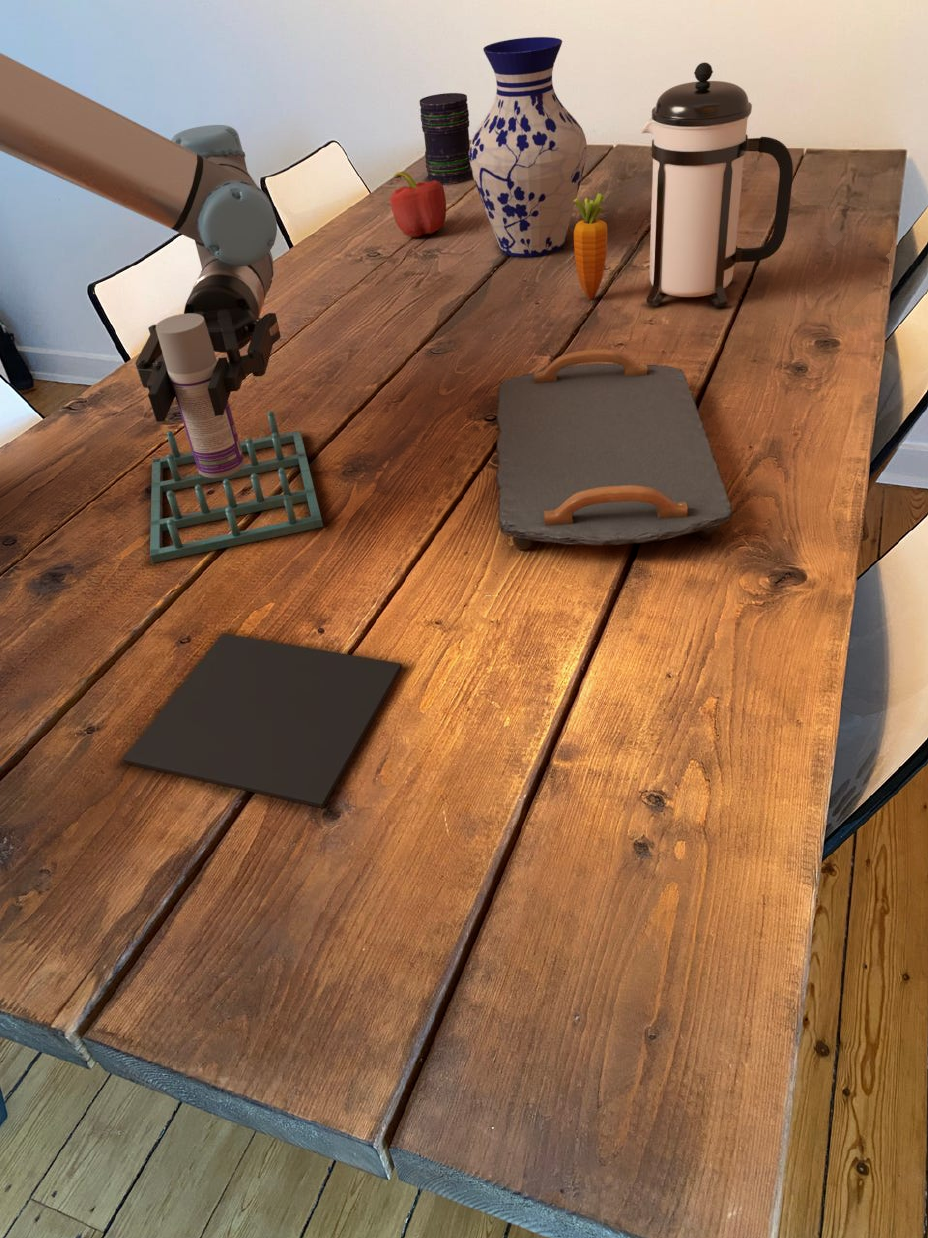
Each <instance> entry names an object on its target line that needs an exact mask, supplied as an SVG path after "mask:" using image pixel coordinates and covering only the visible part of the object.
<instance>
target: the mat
mask: <svg viewBox="0 0 928 1238" xmlns="http://www.w3.org/2000/svg"><path fill="white" fill-rule="evenodd" d="M402 669H403V664H402V663H400V662H394V661H390V660H383V659H378V658H371V657H365V656H359V655H354V654H348V653H342V652H336V651H331V650H324V649H319V648H318V649H317V648H312V647H305V646H300V645H294V644H288V643H283V642H276V641H270V640H266V639H259V638H253V637H249V636H248V637H247V636H241V635H235V634H231V633H230V634H229V633H223V632H222V634H221V635H220V636H219V637H218V638H217V640H216V641H215V642H214V643H213V645H212V646H211V647H210V648H209V650H208V651H207V653H205V655H204V656H203V658H201V659H200V661H199V662H198V664H197V665H196V666H195V667H194V669H193V670H192V671H191V673H190V674H189V675H188V677H187V678H186V679H185V680H184V682H183V683H181V685H180V687H178V689H177V690H176V692H174V694H173V695H172V697H171V698H170V699H169V700H168V701H167V703H166V704H165V705H164V707H163V708H162V709H161V710H160V711H159V713H158V714H157V715H156V717H155V718H154V719H153V720H152V722H151V723H150V724H149V725H148V726H147V727H146V729H145V730H144V732H143V733H142V734H141V736H139V738H138V739H137V741H136V742H135V743H134V744H133V745H132V746H131V748H130V749H129V750H128V751H127V753H126V754H125V755H124V757H123V758H122V761H123V763H124V764H127V765H130V766H135V767H140V768H143V769H148V770H153V771H156V772H157V771H158V772H161V773H166V774H170V775H174V776H179V777H184V778H187V779H192V780H197V781H201V782H205V783H209V784H215V785H217V786H218V785H219V786H223V787H226V788H227V787H228V788H232V789H236V790H241V791H245V792H249V793H254V794H258V795H262V796H266V797H267V796H268V797H271V798H277V799H281V800H285V801H289V802H294V803H297V804H298V803H299V804H303V805H307V806H312V807H316V808H319V809H320V808H321V809H324V808H325V806H326V804H327V802H328V801H329V799H330V797H331V795H332V794H333V792H334V790H335V788H336V787H337V785H338V783H339V781H340V779H341V778H342V776H343V773H344V772H345V770H346V769H347V767H348V765H349V763H350V761H351V760H352V758H353V756H354V755H355V752H356V751H357V749H358V747H359V745H360V744H361V742H362V740H363V738H364V736H365V734H366V733H367V731H368V730H369V728H370V726H371V724H372V722H373V720H374V719H375V717H376V715H377V713H378V712H379V710H380V708H381V706H382V705H383V703H384V701H385V699H386V697H387V696H388V694H389V692H390V690H391V688H392V687H393V685H394V683H395V681H396V680H397V678H398V676H399V674H400V673H401V670H402Z"/></svg>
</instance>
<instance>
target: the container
mask: <svg viewBox="0 0 928 1238" xmlns="http://www.w3.org/2000/svg"><path fill="white" fill-rule="evenodd" d="M155 325H156V331H157V335H158V339H159V342H160V346H161V349H162V353H163V356H164V360H165V364H166V367H167V371H168V374H169V378H170V381H171V385H172V388H173V391H174V394H175V400H176V404H177V407H178V410H179V413H180V417H181V420H182V423H183V426H184V429H185V432H186V436H187V439H188V442H189V445H190V449H191V452H193V455H194V459H195V462H194V463H195V465H196V468H197V471H198V474H201V475H202V476H204V477H208V478H220V477H225V476H228V475H231V474H233V473H235V472H237V471H238V470H240V469H241V468H242V467H243V465H245V458H244V454H243V453H242V450H241V447H240V443H239V442H240V440H239V439H240V438H239V437H238V436H239V435H238V432H237V429H236V425H235V422H234V421H235V420H234V417H233V414H232V410H231V406H230V403H229V401H228V402H227V405H226V408H225V411H224V414H223V415H218V416H215V413H214V410H213V406H212V403H211V399H210V396H209V392H208V389H207V388H208V386H209V383H210V380H211V378H212V375H213V372H214V370H215V367H216V364H217V361H218V359H217V356H216V352H215V351H214V349H213V346H212V343H211V339H210V336H209V333H208V329H207V326H206V323H205V319H204V317H203V316H201V315H199V314H192V313H188V314H184V313H180V314H174V315H171V316H168V317H166V318H164V319H162V320H160V321H158V323H156V324H155Z"/></svg>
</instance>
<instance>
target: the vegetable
mask: <svg viewBox="0 0 928 1238" xmlns="http://www.w3.org/2000/svg"><path fill="white" fill-rule="evenodd" d="M393 177H394V178H395V179H402V178H403V179H405V181H406V182H407V183H408V185H409V186H402V187H400V188H398V189H396V190H394V191H393V192H392V193H391V196H390V207H391V212H392V214H393V218H394V220H395V224H396V225H397V227H398V228H399V229H400V230H401V231H402V233H403V234H404V235H406V236H408V237H411V238H418V237H421V236H422V235H423V236H424V235H427V234H428V235H429V234H430V235H431V234H434V233H435V232H436V231H439V230H440V229H441V228H442V227H443V226H444V224H445V221H446V216H447V199H446V192H445V189H444V186H443V184H441V183H440V182H438V181H435V180H434V181H430V182H429V181H428V182H424V181H420V182H417V183H416V182H415V181H414V179H413V178H412V176H410V175H409V174H408V173H407V172H404V171H399V172H397V173H395V174H394V175H393Z"/></svg>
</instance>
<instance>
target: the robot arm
mask: <svg viewBox="0 0 928 1238" xmlns="http://www.w3.org/2000/svg"><path fill="white" fill-rule="evenodd" d="M0 152H3V153H4V154H7V155H8V156H11V157H13V158H15V159H18V160H20V161H22V162H24V163H26V164H29V165H31V166H32V167H35V168H37V169H39V170H42V171H43V172H46V173H48V174H50V175H53V176H55V177H56V178H59V179H62V180H64V181H66V182H68V183H69V184H72V185H75V186H77V187H79V188H80V189H83V190H85V191H87V192H89V193H92V194H94V195H97V196H98V197H100V198H103V199H105V200H107V201H110V202H112V203H114V204H117V205H118V206H120V207H123V208H125V209H127V210H129V211H132V212H134V213H136V214H138V215H140V216H141V217H142V216H143V217H145V218H147V219H149V220H151V221H153V222H155V223H158V224H160V225H162V226H164V227H166V228H169V229H171V230H172V231H175V232H176V233H178V234H180V235H182V236H184V237H187V238H189V239H191V240H193V241H194V243H195V247H196V251H197V255H198V258H199V262H200V265H201V271H200V274H199V276H198V278H197V279H196V282H195V283H194V285H193V287H192V290H191V292H190V294H189V295H188V298H187V300H186V302H185V305H184V310H183V314H188V313H192V314H199V315H201V316H203V317H204V319H205V323H206V326H207V329H208V333H209V336H210V339H211V343H212V346H213V349H214V353H220V354H221V353H222V354H226V355H227V356H226V357H218V359H217V364H216V367H215V370H214V372H213V375H212V378H211V380H210V383H209V386H208V388H207V389H208V392H209V396H210V399H211V403H212V406H213V410H214V413H215V416H218V415H223V414H224V411H225V408H226V405H227V402H229V400H230V399H229V398H230V397H231V393H232V392H238V391H239V390H240V389H241V387H242V384H243V381H245V380H246V379H247V375H251V374H252V376H253V377H263V376H264V375H265V374H266V371H267V368H268V365H269V360H270V358H271V354H272V349H273V346H274V345H275V343H276V342H278V341H279V340H280V339H281V337H282V335H281V331H280V327H279V323H278V317H277V313H275V312H268V313H266V314H264V315H263V316H262V317H260V316H261V313H262V310H263V307H264V302H265V299H266V297H267V295H268V292H269V291H270V289H271V286H272V284H273V278H274V257H273V254H272V251H271V250H272V248H273V247H274V246H275V242H276V239H277V231H278V225H277V224H278V223H277V218H276V214H275V212H274V208H273V205H272V202H271V201H270V198H269V197H268V195H267V194H266V193H265V192H264V191H263V190H262V188H260V186H258V185H257V184H256V182H255V180H254V179H253V177H252V176H251V175H250V173H249V171H248V167H247V161H246V152H244V150H243V147H242V143H241V140H240V135H239V133H238V131H237V130H236V129H235V128H234V127H232V126H230V125H226V124H225V125H224V124H209V125H201V126H195V127H191V128H187V129H184V130H182V131H181V130H180V131H179V132H178V133H176V134H174V135H173V137H172V138H171V139H169V138H167V137H165V136H164V135H161V134H160V133H157V132H156V131H153V130H151V129H150V128H148V127H146V126H143V125H142V124H140V123H138V122H136V121H134V120H132V119H130V118H129V117H126V116H124V115H123V114H120V113H119V112H116V111H115V110H113V109H111V108H108V107H106V106H105V105H103V104H100V103H99V102H97V101H95V100H93V99H92V98H89V97H88V96H85V95H83V94H81V93H79V92H78V91H75V90H74V89H71V88H70V87H68V86H66V85H64V84H62V83H60V82H58V81H56V80H54V79H52V78H50V77H49V76H47V75H44V74H43V73H40V72H38V71H37V70H35V69H32V68H31V67H29V66H27V65H25V64H23V63H21V62H19V61H18V60H15V59H13V58H11V57H9V56H7V55H6V54H4V53H1V52H0ZM156 325H157V324H151V325H150V326H148V328H147V329H148V331H149V336H148V338H147V340H146V341H145V344H144V345H143V347H142V350H140V353H139V355H138V357H137V359H136V360H135V367H136V370H137V373H138V375H139V378H140V382H141V385H142V387H143V388H145V389H147V390H148V393H147V396H148V401H149V403H150V406H151V409H152V411H153V415H154V418H155V422H157V423H159V422H165V421H166V419H167V417H168V415H169V412H170V410H171V408H172V405H173V403H174V401H175V399H176V397H175V394H174V391H173V388H172V385H171V381H170V378H169V374H168V371H167V367H166V364H165V360H164V356H163V353H162V349H161V346H160V342H159V339H158V335H157V331H156ZM247 345H248V346H247ZM246 346H247V350H246V352H247V354H244V355H241V353H240V352H241V351H240V350H241V349H243V348H244V347H246Z"/></svg>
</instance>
